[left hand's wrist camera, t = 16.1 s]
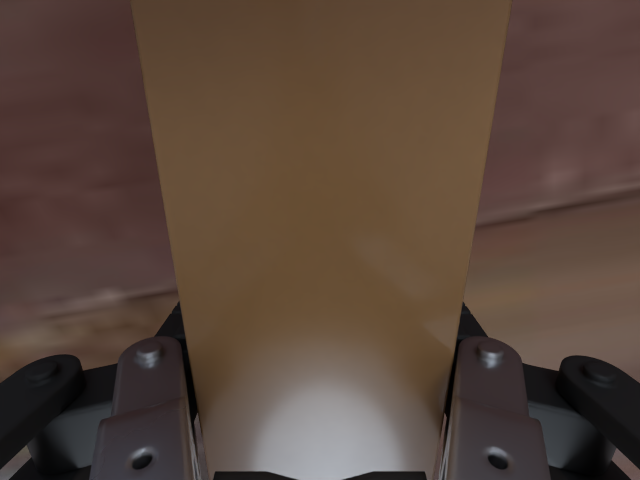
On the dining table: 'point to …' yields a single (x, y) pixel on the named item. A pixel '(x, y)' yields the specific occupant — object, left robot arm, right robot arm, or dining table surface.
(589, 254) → the dining table surface
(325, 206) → the bar
